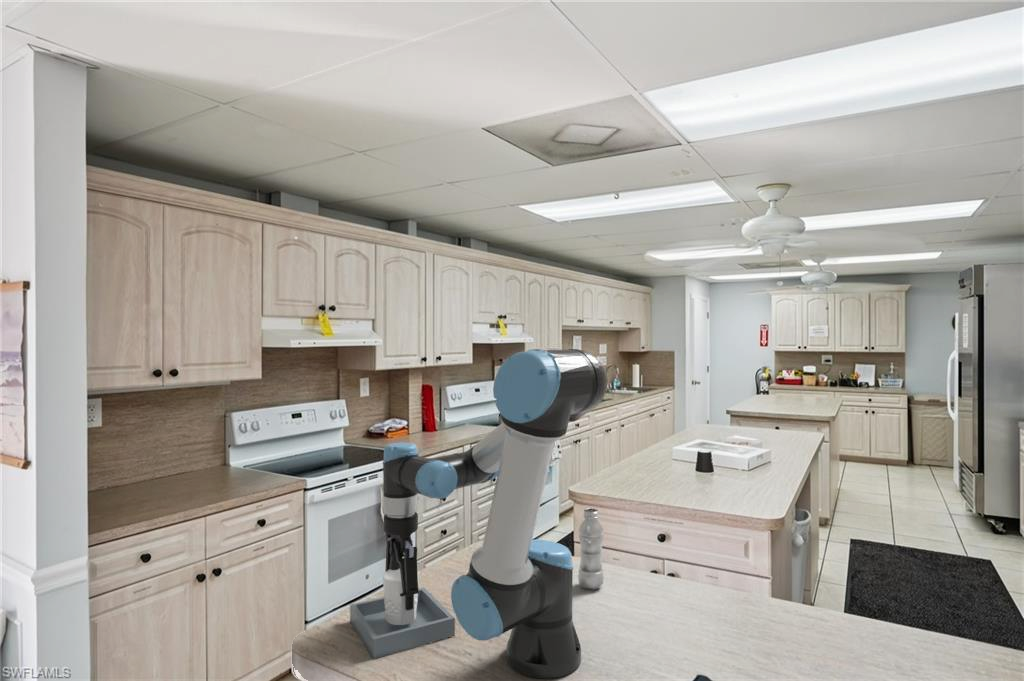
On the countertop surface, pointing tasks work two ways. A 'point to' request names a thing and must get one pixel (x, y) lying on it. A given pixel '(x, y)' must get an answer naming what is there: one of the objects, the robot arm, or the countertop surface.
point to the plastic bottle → (591, 551)
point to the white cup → (394, 596)
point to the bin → (395, 638)
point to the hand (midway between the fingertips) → (401, 615)
